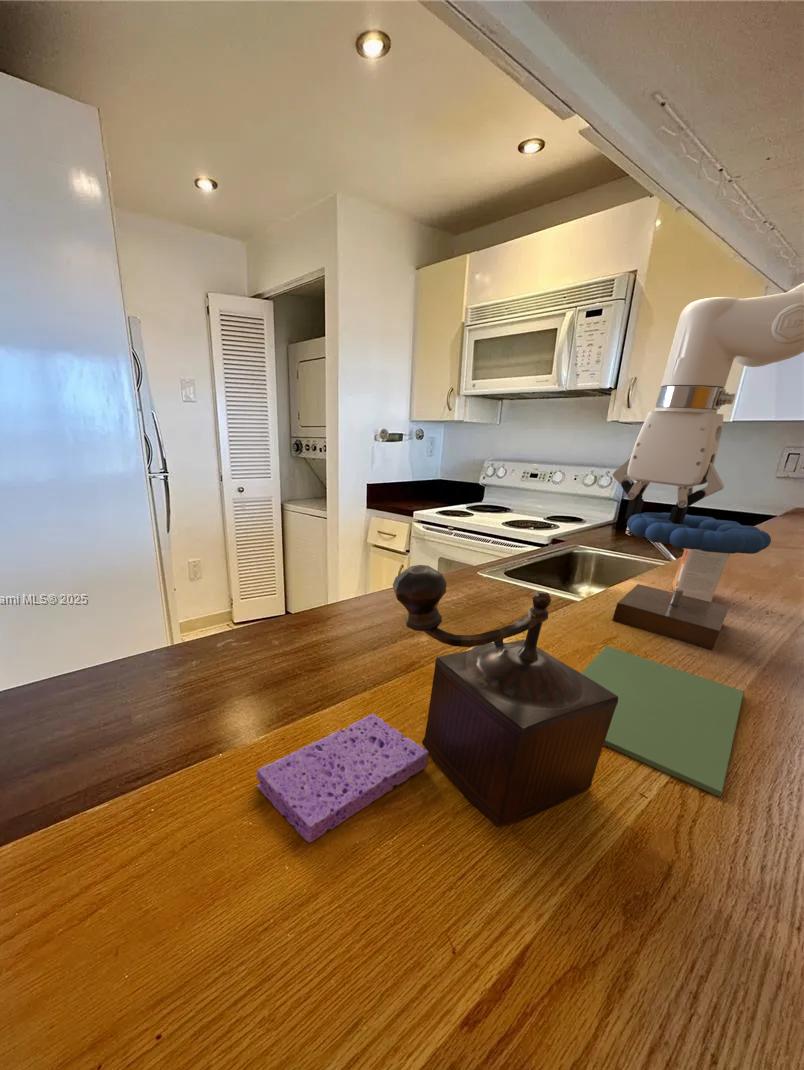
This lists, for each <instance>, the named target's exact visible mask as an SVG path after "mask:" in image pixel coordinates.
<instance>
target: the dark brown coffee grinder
mask: <svg viewBox="0 0 804 1070" xmlns="http://www.w3.org/2000/svg"><path fill="white" fill-rule="evenodd" d="M392 589H393V592H394V595H395V597H396V599H397V601H398V602H399V603H400V604H401V605H402V606H403V607H404V608H405V610H406V616H405V617H404V622H405V625H406V627H407V628H409V629H411V630H413V631H416V632H424V633H425V634H426V635H427V636H429V637H431V638H433V639H435V640H436V641H438V642H440V643H442V644H443V645H444V644H445V645H447V646H452V647H459V648H471V649H469V650H465V651H460V652H459V651H458V652H455V653H449V654H446V655H439V656H437V657H436V659H435V662H434V672H433V678H432V685H431V692H430V699H429V706H428V712H427V719H426V720H427V721H426V725H425V726H426V727H425V733H424V737H423V739H422V741H421V744H422V745H423V746H424V747H423V748H424V749H425V750H427V751H428V752H429V753H428V755H429V756H430V757H431V759H432V760H433V762H434V763H435V765H436V766H437V767H438V768H439V769H440V771H442V772H443V773H444V774H445V776H446V777H447V778H448V779H449V781H450V782H451V783H452V784H453V785H454V786H455V788H457V789H458V791H459V792H460V793H461V794H462V795H463V797H464V798H466V799H467V800H468V802H469V803H470V804H471V805H472V806H473V807H474V808H476V809H477V810H478V811H479V812H480V813H481V814H482V815H483V816H484V817H486V818H487V819H488V820H489V821H490V822H492V823H493V825H495V826H496V827H497V828H498V827H502V826H508V825H513V824H517V823H519V822H522V821H524V820H526V819H529V818H531V817H533V816H536V815H539V814H540V813H543V812H544V811H547V810H550V809H552V808H554V807H556V806H558V805H560V804H562V803H564V802H566V801H568V800H570V799H573V798H574V797H576V796H578V795H580V794H582V793H585V791H587V790H589V789H591V787H592V784H593V779H594V776H595V772H596V770H597V766H598V763H599V759H600V756H601V754H602V751H603V748H604V746H605V745H604V742H605V739H606V736H607V733H608V730H609V726H610V723H611V720H612V717H613V714H614V711H615V708H616V706H617V703H618V696H617V695H615V694H613V693H612V692H610V691H609V690H607V689H606V688H604V687H602V686H601V685H599V684H598V683H596V682H594V681H593V680H591V679H590V678H588V677H586V676H585V675H583V674H581V673H582V672H580V671H578V670H576V669H575V668H573V667H571V666H570V665H568V664H566V663H564V662H563V661H561V660H559V659H557V658H556V657H554V656H553V655H551V654H549V653H548V652H546V651H545V650H543V649H541V648H540V647H538V641H539V637H540V633H541V630H542V626H543V624H544V623H543V622H546V621H548V619H549V611H548V608H549V606H550V605H551V602H552V597H551V595H550V593H549V592H547V591H543V590H539V591H536V592H535V593H534V595H533V596H532V607H530V608H529V610H528V613H527V614H526V615H525V616H523V617H521V618H520V619H517V620H515V621H514V622H512V623H511V624H509V625H506V626H503V627H499V628H497V629H493V630H490V631H486V632H483V633H478V634H476V633H475V634H454V633H452V632H447V631H446V630H444V629H442V628H440V627H439V626H440V625H441V624H442V622H443V616H442V614H441V613H440V611H439V609H438V605H439V604H440V601H441V599H442V598H443V597H444V596H445V594H446V593H447V579H446V578H445V575H444V574H443V573H442V572H440V571H438V570H436V569H435V568H433V567H431V566H430V565H424V564H416V565H411V566H409V567H408V568H406V569H404V570H403V571H402V572H401V573H399V574H398V575H397V576H395V578H394V580H393V583H392ZM526 631H527V632H526ZM524 632H526V637H525V639H520V640H514V641H508V642H504V640H505V639H508V638H511V637H514V636H517V635H520V634H522V633H524Z"/></svg>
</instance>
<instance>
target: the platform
mask: <svg viewBox="0 0 804 1070" xmlns="http://www.w3.org/2000/svg"><path fill="white" fill-rule="evenodd" d="M682 594H683V590H682V589H678V588H675V589H674V592H673V591H672V592H671V591H667V590H665V589H660V588H656V587H651V586H647V585H644V584H640V583H637V584H636V585H635V586H634V587H632V588H631V590H629V592H628V593H626V594H625V595H624V596H623V597H622V598H621V599H619V601H618V602H617V603H616V606H615V609H614V610H615V611H614V613H613V616H612V619H611V620H612V621H613V622H617V623H619V624H620V623H621V624H624V625H627V626H630V627H634V628H637V629H640V630H643V631H647V632H650V633H653V634H657V635H660V636H664V637H666V638H671V639H674V640H677V641H680V642H684V643H687V644H690V645H694V646H697V647H700V648H704V649H707V650H710V651H712V650H714V647H715V644H716V642H717V640H718V636H719V634H720V631H721V629H722V626H723V624H724V622H725V620H726V617H727V614H728V611H729V609H730V606H729V605H724V604H720V603H716V602H712V601H711V602H708V601H704V600H700V599H696V598H692V597H688V596H684V595H682Z"/></svg>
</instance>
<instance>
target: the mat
mask: <svg viewBox="0 0 804 1070" xmlns="http://www.w3.org/2000/svg"><path fill="white" fill-rule="evenodd" d="M580 673H581V674H583V675H585V676H586V677H588V678H590V679H591V680H593V681H594V682H596V683H598V684H599V685H601V686H602V687H604V688H606V689H607V690H609V691H610V692H612V693H613V694H615V695H617V696H618V703H617V706H616V708H615V711H614V714H613V717H612V720H611V723H610V726H609V730H608V733H607V736H606V739H605V742H604V745H603V746H604V747H608V748H609V749H612V750H614V751H616V752H618V753H621V754H623V755H625V756H627V757H629V758H632V759H634V760H636V761H638V762H640V763H643V764H645V765H647V766H650V767H652V768H655V769H656V770H658V771H660V772H662V773H665V774H667V775H670V776H672V777H674V778H676V779H678V780H681V781H683V782H685V783H687V784H690V785H692V786H694V787H696V788H698V789H700V790H703V791H705V792H707V793H709V794H712V795H714V796H716V797H718V798H721V796H722V794H723V791H724V786H725V782H726V776H727V772H728V768H729V762H730V758H731V753H732V749H733V744H734V739H735V735H736V730H737V725H738V721H739V715H740V712H741V706H742V703H743V702H742V701H743V697H744V692H745V691H744V690H741V689H738V688H736V687H734V686H730V685H726V684H723V683H721V682H717V681H714V680H711V679H708V678H705V677H701V676H699V675H696V674H693V673H690V672H688V671H687V672H686V671H684V670H680V669H678V668H675V667H672V666H669V665H665V664H663V663H660V662H656V661H653V660H650V659H648V658H645V657H641V656H640V655H636V654H632V653H630V652H627V651H623V650H621V649H617V648H614V647H611V646H608V645H605V646H604V648H603V649H602V650H601V651H600V652H599V653H598V654H597V655H596V656H595V658H593V660H592V661H591V662H590V663H589V664H588V665H587V666H586V667H585V669H584V670H582V671H581V672H580Z"/></svg>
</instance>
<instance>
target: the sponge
mask: <svg viewBox="0 0 804 1070" xmlns="http://www.w3.org/2000/svg"><path fill="white" fill-rule="evenodd" d="M428 756H429V752H428V751H427V750H426V748H425V747H423V746H421V745H419V744H418V743H417V742H415V741H414V740H412V739H411V738H409V737H404V736H403V733H402V732H401V731H399V730H397V729H396V728H394V727H391V725H390V724H388V723H387V722H385V720H384V719H382V718H381V717H379V716H377V715H376V714H375V713H370V714H369V715H367V716H365V717H363V718H361V719H359V720H357V721H355V722H354V723H352V724H350V725H348V726H347V729H339V730H337V731H336V732H335V731H334V732H333V733H330V734H328V735H327V736H325V737H323V738H320V739H319V740H316V741H313V742H311V743H310V744H307V745H305V746H303V747H301V748H299V749H298V750H295V751H293V752H291V753H290V754H287V755H285V756H283V757H282V758H278V759H277V760H274V761H272V762H271V763H268V764H264V766H261V767H259V768H258V769H257V770H256V780H257V781H259V783H260V784H256V787H257V788H258V790H259V791H260V792H261V793H262V794H263V795H264V797H265V798H267V799H268V800H269V802H270V803H271V804H272V806H273V807H274V808H275V809H276V810H277V811H278V812H279V814H280V815H281V816H285V818H286V821H287V822H288V823H289V824H290V825H292V826H293V828H294V830H295V831H296V832H297V833H298V834H299V835H300V836H301V837H302V838H303V839H304V840H305V841H306V842H308V843H312V842H314V841H315V840H317V839H319V838H320V837H322V836H323V835H324V834H325V833H326V832H327V831H328V830H333V829H334V828H336V827H338V826H340V825H341V824H342V823H343V822H345V821H346V820H348V819H349V818H351V817H353V815H355V814H356V813H358V812H360V811H361V810H363V809H364V808H366V807H368V806H370V805H371V804H372V803H373V802H374V801H376V800H378V799H380V798H381V797H383V796H384V795H385V794H386V793H389V792H390V791H392V790H393V789H394V786H400V784H402V783H405V782H406V781H407V780H409V778H410V777H412V776H415V775H416V774H418V773H419V772H420V771H422V770H423V769H425V768H427V766H428V761H429V760H428V759H429V758H428Z"/></svg>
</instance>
